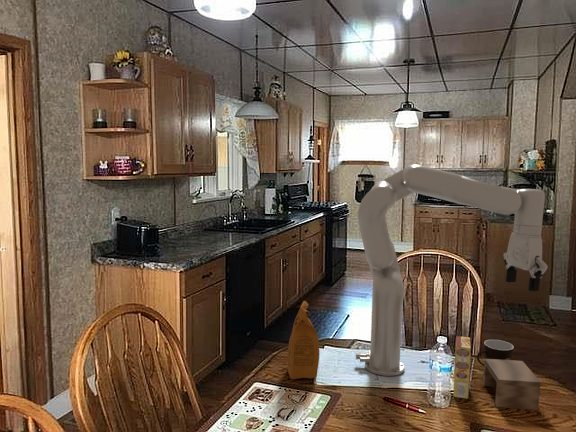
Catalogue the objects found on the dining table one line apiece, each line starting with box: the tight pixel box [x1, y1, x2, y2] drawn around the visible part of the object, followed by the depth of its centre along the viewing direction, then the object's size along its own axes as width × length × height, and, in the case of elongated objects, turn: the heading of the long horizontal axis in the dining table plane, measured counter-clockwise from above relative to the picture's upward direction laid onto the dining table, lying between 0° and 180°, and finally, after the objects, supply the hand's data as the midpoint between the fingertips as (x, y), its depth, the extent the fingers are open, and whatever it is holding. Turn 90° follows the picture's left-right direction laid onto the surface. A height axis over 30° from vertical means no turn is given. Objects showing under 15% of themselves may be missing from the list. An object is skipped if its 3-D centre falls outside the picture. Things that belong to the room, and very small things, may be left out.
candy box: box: [453, 335, 472, 400], centre depth 147 cm, size 9×4×15 cm, turn 162°
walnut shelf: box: [482, 358, 542, 411], centre depth 145 cm, size 11×14×8 cm
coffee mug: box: [476, 339, 515, 367], centre depth 159 cm, size 12×9×10 cm
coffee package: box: [286, 300, 320, 380], centre depth 158 cm, size 10×12×22 cm
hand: (521, 286), depth 152 cm, fingers open, 9 cm apart
